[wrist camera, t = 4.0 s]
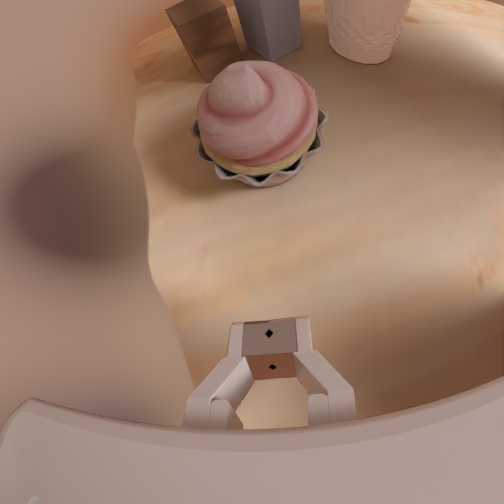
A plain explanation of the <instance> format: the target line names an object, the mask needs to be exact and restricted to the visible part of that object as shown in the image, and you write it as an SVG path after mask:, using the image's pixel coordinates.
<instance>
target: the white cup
mask: <svg viewBox="0 0 504 504" xmlns="http://www.w3.org/2000/svg"><path fill="white" fill-rule="evenodd" d="M410 2H411V0H325V11H326V22H327V24H328V38H329V44H330V46H331V47H332V48H333V49H334V50H335V51H336V53H338V54H339V55H341V56H343V57H345V58H347V59H348V60H351V61H355V62H359V63H363V64H378V63H381V62H383V61H385V60H387V59H388V58H389V56H390V54H391V52H392V50H393V47H394V44H395V41H396V40H397V39H398V36H399V33H400V31H401V29H402V26H403V22H404V20H405V18H406V15H407V12H408V8H409V5H410Z"/></svg>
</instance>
